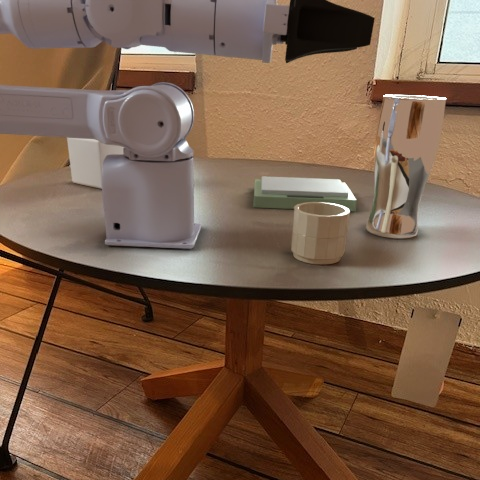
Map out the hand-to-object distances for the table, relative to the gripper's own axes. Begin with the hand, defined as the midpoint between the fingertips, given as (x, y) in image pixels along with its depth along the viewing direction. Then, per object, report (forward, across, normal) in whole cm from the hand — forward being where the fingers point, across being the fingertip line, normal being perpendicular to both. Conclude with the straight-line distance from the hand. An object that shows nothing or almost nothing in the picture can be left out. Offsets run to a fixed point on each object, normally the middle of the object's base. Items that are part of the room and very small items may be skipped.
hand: (364, 35), depth 46 cm
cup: (-2, -3, +21) cm, 21 cm away
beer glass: (+8, +7, +20) cm, 23 cm away
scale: (-2, +21, +20) cm, 29 cm away
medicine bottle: (-33, +26, +22) cm, 47 cm away
